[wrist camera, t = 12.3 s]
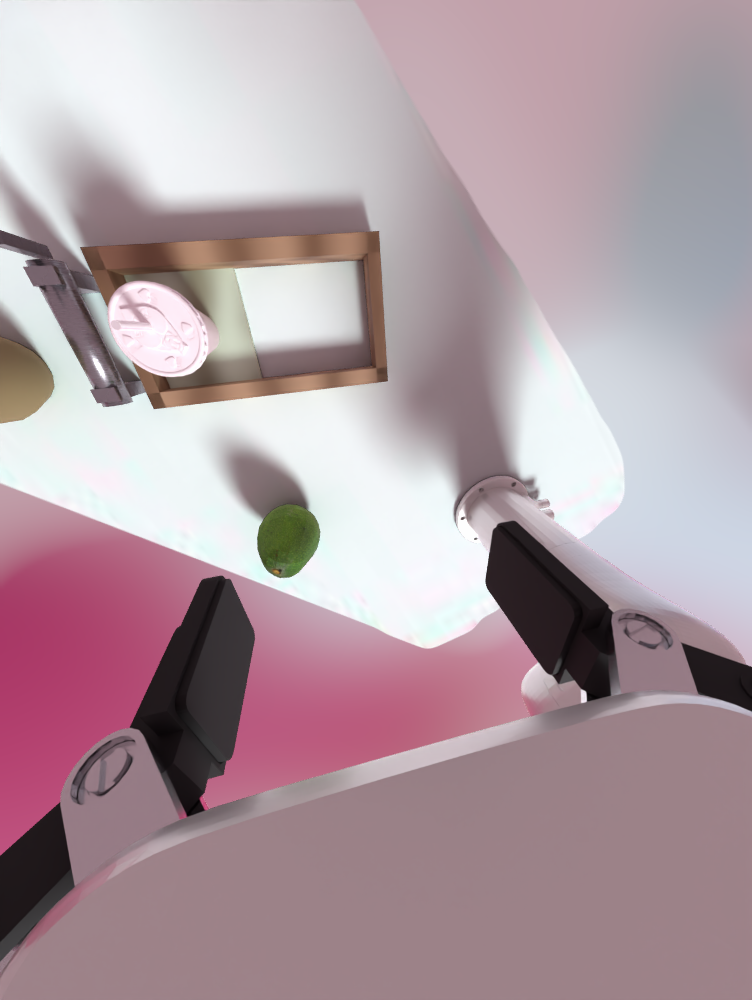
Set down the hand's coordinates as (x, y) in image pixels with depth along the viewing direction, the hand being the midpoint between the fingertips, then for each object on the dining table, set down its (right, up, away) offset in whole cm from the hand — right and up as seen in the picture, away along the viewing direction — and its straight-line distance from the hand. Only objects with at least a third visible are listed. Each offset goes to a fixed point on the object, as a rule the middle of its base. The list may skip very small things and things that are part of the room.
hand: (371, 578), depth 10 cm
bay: (-12, +21, +21) cm, 32 cm away
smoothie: (-18, +20, +20) cm, 34 cm away
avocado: (-12, 0, +33) cm, 35 cm away
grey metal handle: (-26, +19, +19) cm, 38 cm away
